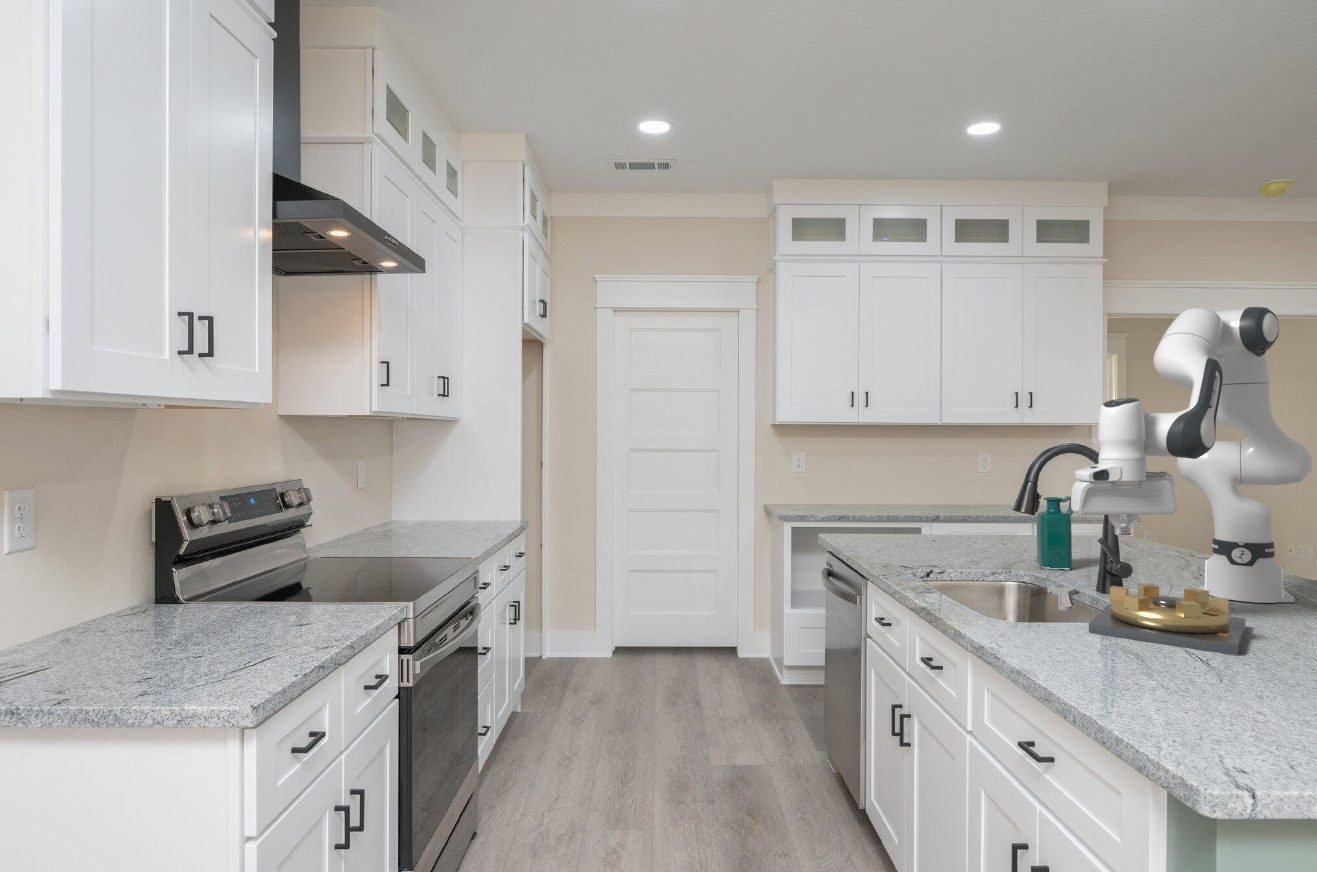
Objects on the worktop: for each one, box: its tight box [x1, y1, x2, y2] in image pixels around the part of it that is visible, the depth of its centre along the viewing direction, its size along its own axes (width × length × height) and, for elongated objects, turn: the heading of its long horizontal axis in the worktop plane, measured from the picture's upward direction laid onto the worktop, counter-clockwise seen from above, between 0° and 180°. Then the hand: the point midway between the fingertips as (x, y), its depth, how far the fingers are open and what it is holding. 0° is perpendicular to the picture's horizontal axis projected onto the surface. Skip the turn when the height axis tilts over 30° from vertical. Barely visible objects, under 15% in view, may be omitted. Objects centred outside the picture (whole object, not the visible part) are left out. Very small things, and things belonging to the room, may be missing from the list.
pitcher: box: [1036, 495, 1074, 569], centre depth 216 cm, size 10×8×22 cm
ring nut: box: [1109, 582, 1230, 633], centre depth 147 cm, size 20×20×6 cm
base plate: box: [1088, 602, 1247, 656], centre depth 147 cm, size 24×24×2 cm
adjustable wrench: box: [1047, 584, 1077, 612], centre depth 176 cm, size 25×6×2 cm, turn 147°
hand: (1123, 534), depth 155 cm, fingers closed
